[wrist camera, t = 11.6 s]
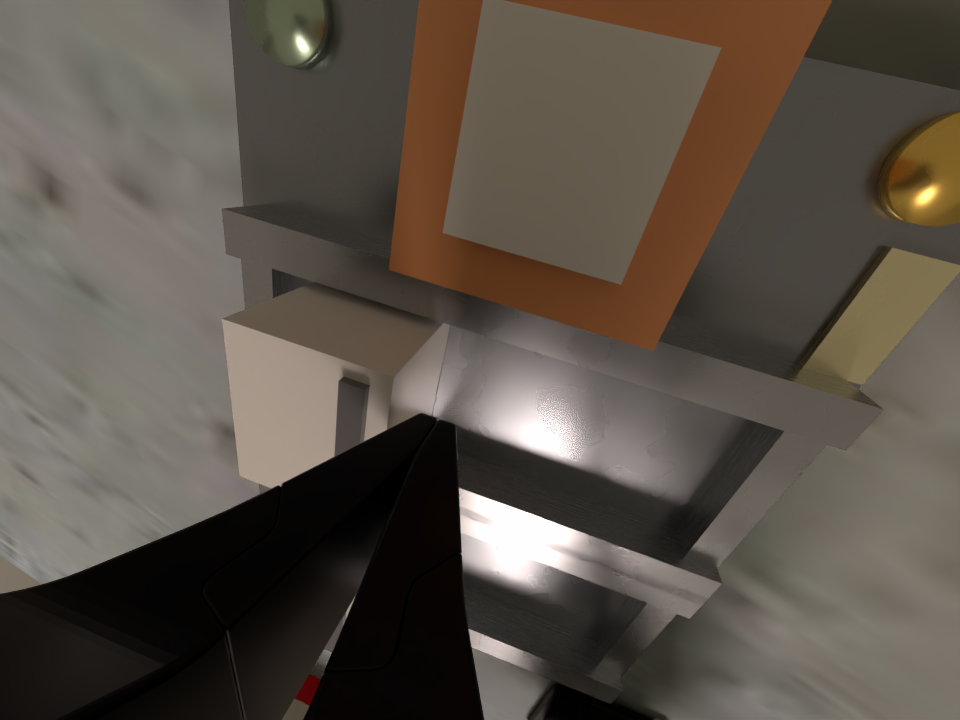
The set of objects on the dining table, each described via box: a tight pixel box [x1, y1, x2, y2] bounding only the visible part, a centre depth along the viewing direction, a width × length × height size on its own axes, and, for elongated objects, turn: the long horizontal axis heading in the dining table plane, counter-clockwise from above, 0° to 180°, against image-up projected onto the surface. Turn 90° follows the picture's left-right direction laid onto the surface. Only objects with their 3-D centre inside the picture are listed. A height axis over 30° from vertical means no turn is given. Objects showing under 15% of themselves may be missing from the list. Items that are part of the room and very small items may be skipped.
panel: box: [222, 0, 960, 704], centre depth 13 cm, size 21×18×4 cm
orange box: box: [389, 0, 832, 351], centre depth 7 cm, size 4×4×5 cm
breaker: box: [222, 282, 450, 488], centre depth 11 cm, size 5×4×4 cm
